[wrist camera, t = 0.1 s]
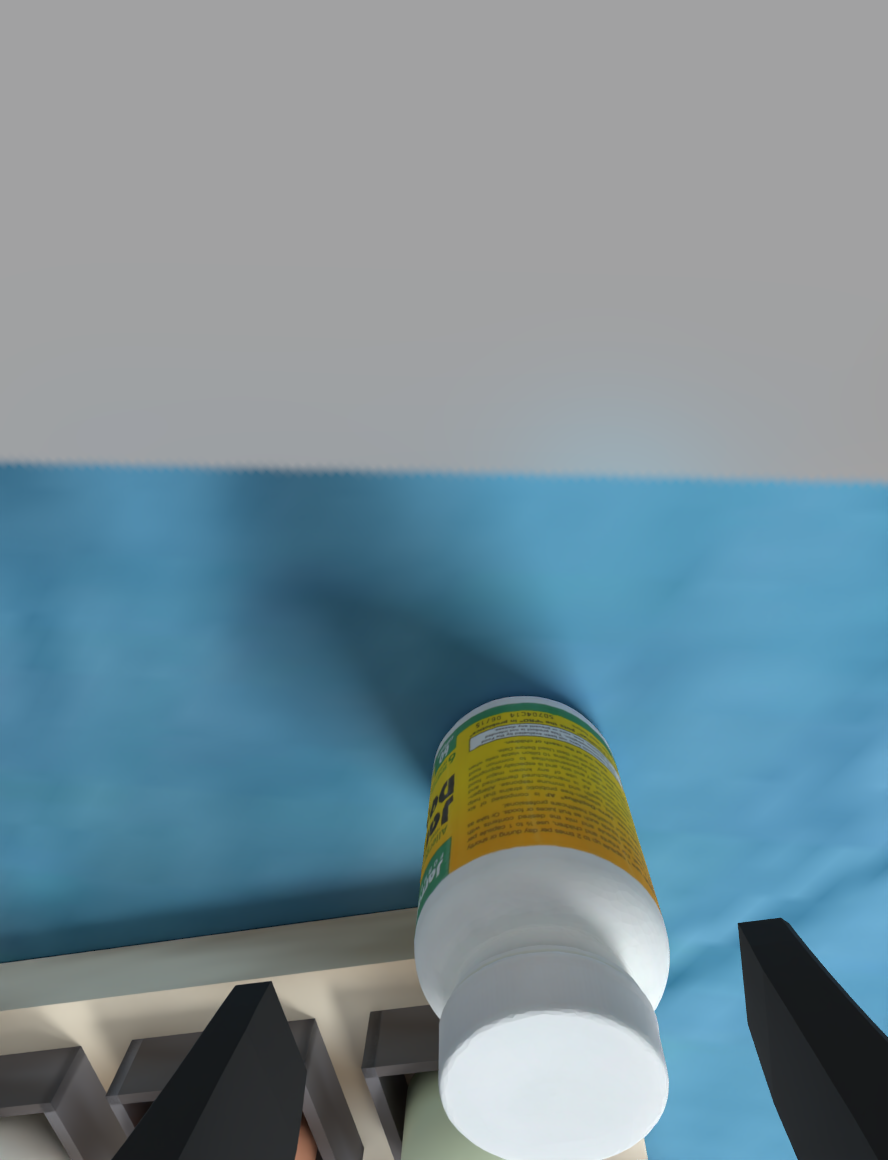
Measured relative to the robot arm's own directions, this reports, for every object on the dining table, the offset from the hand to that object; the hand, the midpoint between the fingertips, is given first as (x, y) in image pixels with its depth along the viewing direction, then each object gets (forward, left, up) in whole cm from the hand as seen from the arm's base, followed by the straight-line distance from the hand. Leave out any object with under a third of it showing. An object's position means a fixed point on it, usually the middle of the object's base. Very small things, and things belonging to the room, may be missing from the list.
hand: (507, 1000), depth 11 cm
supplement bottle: (-3, 0, -10) cm, 11 cm away
